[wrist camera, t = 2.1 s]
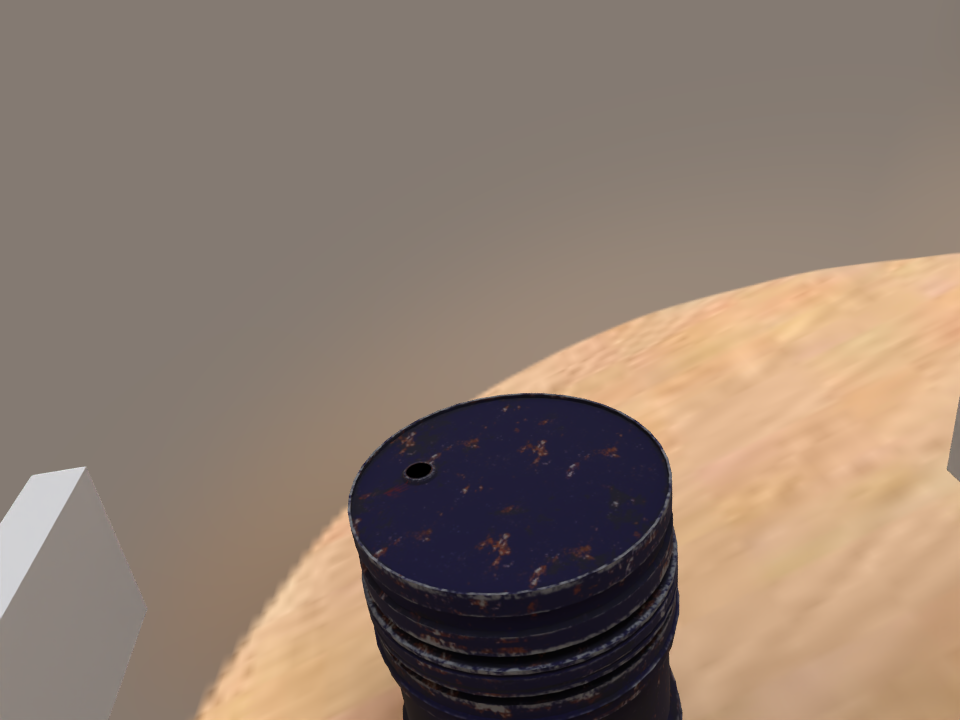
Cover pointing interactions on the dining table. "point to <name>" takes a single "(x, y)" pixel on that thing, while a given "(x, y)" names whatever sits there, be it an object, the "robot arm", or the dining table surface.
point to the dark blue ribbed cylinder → (522, 562)
